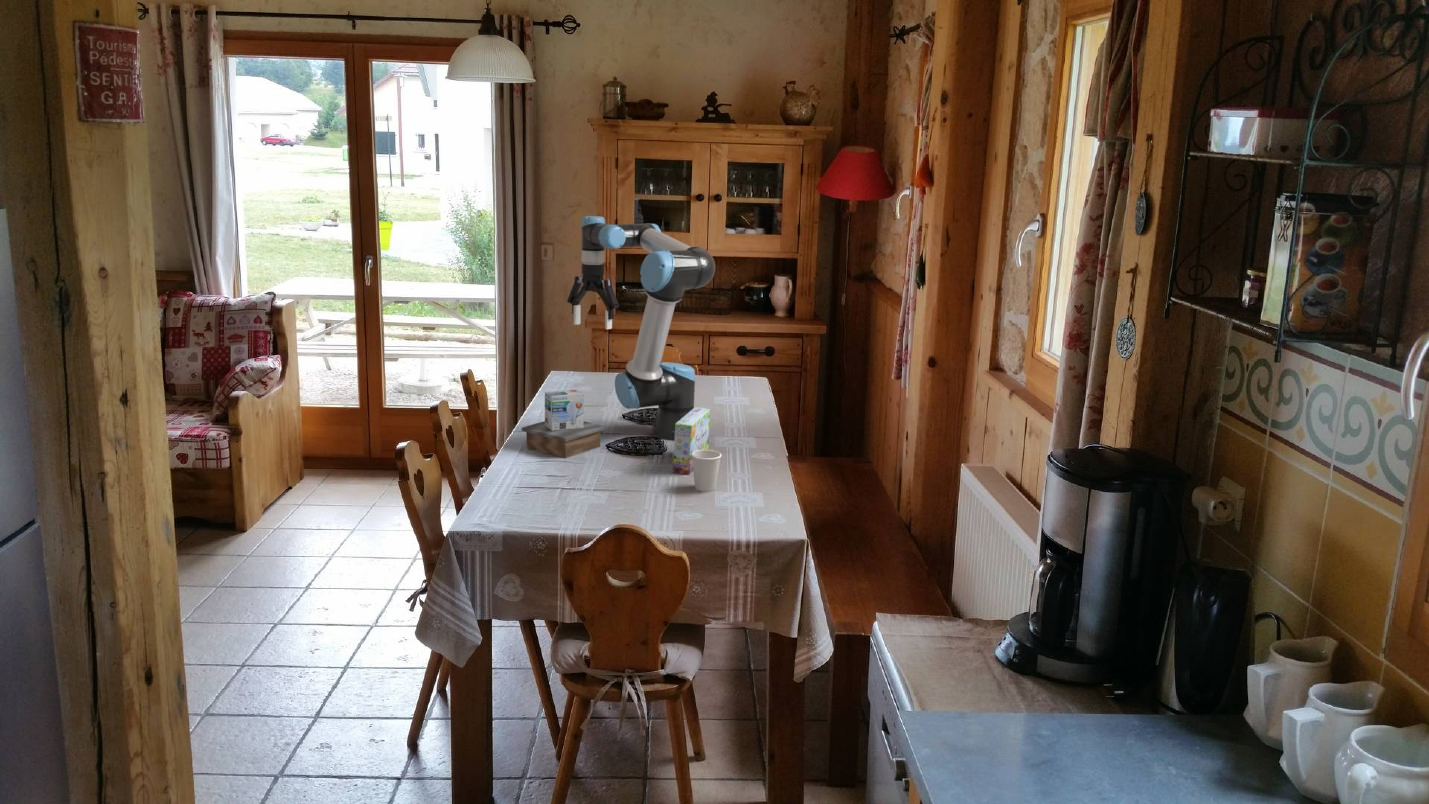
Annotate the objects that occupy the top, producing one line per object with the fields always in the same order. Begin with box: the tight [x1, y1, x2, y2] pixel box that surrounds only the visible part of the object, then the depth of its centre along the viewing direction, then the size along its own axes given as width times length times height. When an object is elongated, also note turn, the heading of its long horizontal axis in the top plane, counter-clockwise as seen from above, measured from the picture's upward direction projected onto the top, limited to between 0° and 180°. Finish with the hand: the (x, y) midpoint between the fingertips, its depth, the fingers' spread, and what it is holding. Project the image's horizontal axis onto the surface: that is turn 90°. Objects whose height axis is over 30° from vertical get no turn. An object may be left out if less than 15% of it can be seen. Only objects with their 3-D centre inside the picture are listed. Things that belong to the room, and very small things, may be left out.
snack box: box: [672, 407, 711, 476], centre depth 319 cm, size 21×6×15 cm, turn 166°
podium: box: [521, 420, 606, 459], centre depth 332 cm, size 18×18×6 cm
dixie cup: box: [691, 449, 722, 493], centre depth 298 cm, size 8×8×10 cm
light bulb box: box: [544, 389, 585, 431], centre depth 330 cm, size 11×7×11 cm, turn 119°
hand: (592, 326), depth 363 cm, fingers open, 13 cm apart
